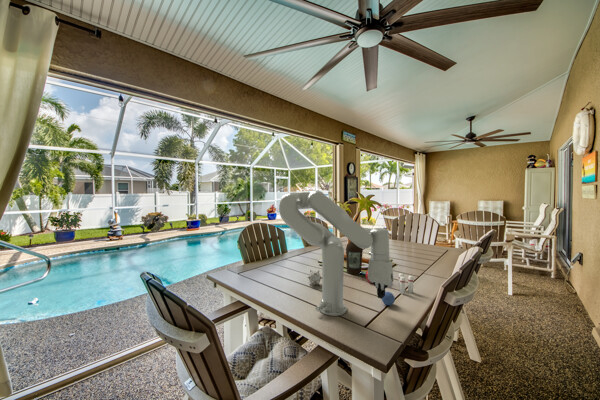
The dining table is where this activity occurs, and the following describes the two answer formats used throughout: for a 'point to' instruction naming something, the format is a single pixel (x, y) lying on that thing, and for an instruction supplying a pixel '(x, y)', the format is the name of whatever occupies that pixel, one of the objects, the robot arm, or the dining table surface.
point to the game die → (314, 277)
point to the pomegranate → (367, 277)
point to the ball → (388, 298)
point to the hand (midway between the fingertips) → (381, 297)
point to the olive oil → (353, 258)
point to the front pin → (402, 285)
